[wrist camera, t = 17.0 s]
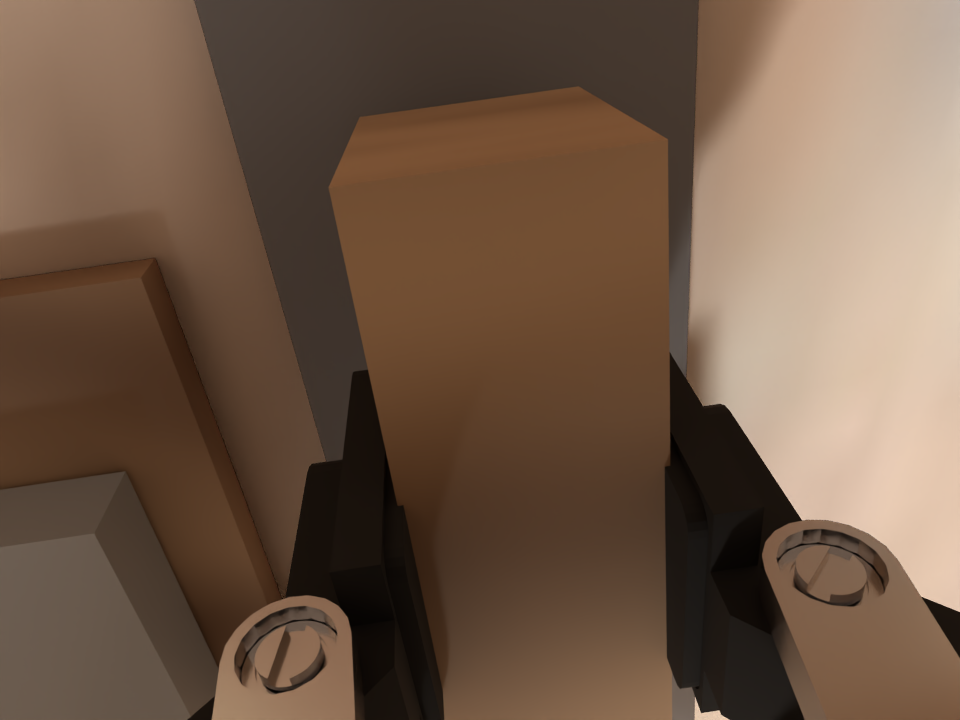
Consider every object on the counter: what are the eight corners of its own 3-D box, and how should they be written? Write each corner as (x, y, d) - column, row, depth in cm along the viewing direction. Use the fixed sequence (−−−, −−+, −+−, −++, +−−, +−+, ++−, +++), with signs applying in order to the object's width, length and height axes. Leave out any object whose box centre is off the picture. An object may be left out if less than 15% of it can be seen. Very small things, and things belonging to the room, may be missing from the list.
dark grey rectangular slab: (669, 629, 19) (677, 649, 18) (392, 671, 18) (392, 692, 18) (687, -132, 10) (702, -135, 10) (187, -64, 10) (176, -62, 10)
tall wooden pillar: (684, 741, 16) (759, 949, 13) (415, 782, 16) (416, 1003, 13) (687, 71, 10) (835, 114, 7) (249, 132, 10) (158, 211, 6)
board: (343, 762, 20) (340, 792, 20) (-60, 824, 20) (-76, 856, 19) (154, 258, 13) (140, 277, 12) (-503, 352, 12) (-556, 377, 12)
